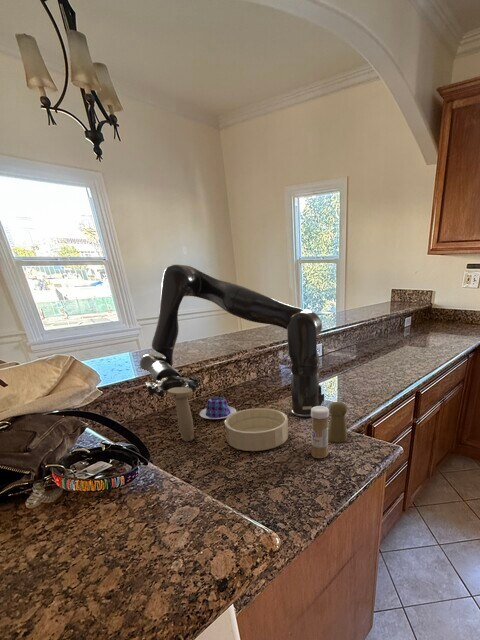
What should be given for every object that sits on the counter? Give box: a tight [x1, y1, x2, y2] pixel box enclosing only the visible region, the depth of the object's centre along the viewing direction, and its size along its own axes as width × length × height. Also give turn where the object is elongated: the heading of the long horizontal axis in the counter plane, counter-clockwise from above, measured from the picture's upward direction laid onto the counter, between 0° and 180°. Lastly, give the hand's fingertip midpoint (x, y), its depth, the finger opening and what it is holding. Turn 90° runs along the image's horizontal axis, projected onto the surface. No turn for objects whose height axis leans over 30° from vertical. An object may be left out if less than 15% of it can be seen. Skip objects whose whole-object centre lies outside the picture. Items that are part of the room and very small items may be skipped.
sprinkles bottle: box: [310, 405, 330, 459], centre depth 92 cm, size 5×5×13 cm
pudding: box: [199, 396, 237, 420], centre depth 118 cm, size 12×12×5 cm
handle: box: [167, 387, 195, 442], centre depth 99 cm, size 5×6×15 cm
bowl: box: [224, 407, 289, 452], centre depth 102 cm, size 18×18×6 cm
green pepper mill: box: [328, 401, 348, 444], centre depth 102 cm, size 6×6×11 cm
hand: (178, 391), depth 101 cm, fingers open, 8 cm apart
